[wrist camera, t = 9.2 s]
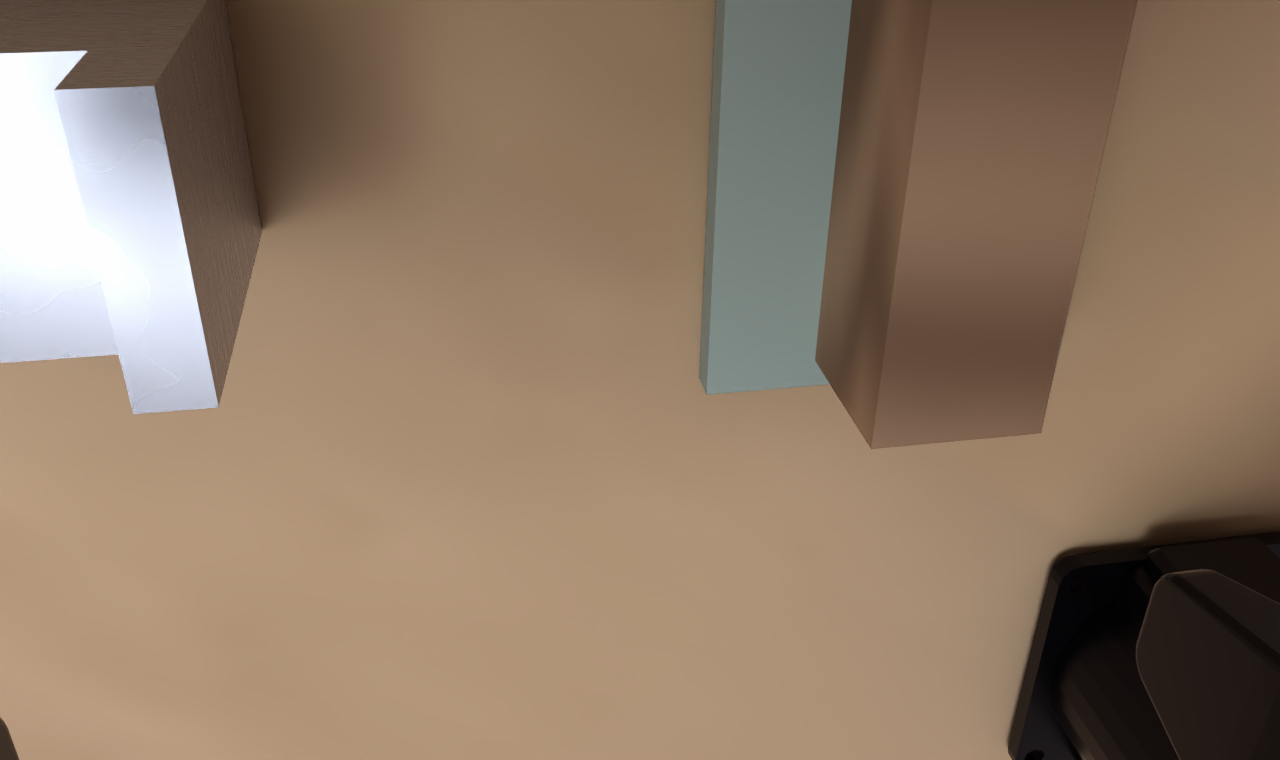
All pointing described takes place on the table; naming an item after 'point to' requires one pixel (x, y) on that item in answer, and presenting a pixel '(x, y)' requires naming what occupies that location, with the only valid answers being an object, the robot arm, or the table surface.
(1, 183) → the grey block
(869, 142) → the rail
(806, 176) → the mat
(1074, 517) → the table surface
